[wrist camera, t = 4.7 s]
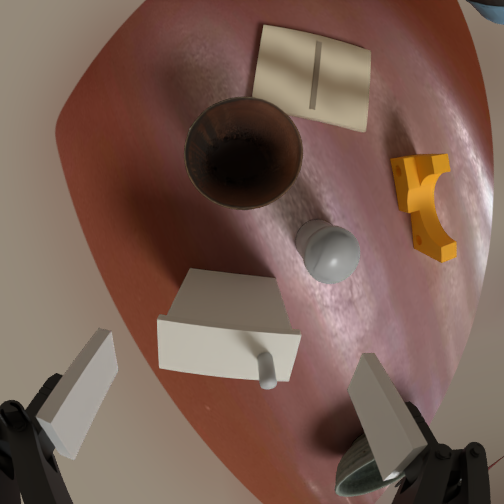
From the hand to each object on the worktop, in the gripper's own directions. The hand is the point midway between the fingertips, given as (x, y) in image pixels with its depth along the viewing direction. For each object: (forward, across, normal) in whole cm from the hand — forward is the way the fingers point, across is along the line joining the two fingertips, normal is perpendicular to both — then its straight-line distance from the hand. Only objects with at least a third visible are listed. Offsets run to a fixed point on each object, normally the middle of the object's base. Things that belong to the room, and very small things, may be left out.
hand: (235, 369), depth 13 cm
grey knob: (+20, +8, +2) cm, 21 cm away
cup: (+20, -1, +11) cm, 22 cm away
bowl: (+19, +31, -37) cm, 52 cm away
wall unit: (+19, -1, -4) cm, 20 cm away
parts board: (+20, +6, +21) cm, 30 cm away
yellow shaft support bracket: (+20, +21, +9) cm, 30 cm away
